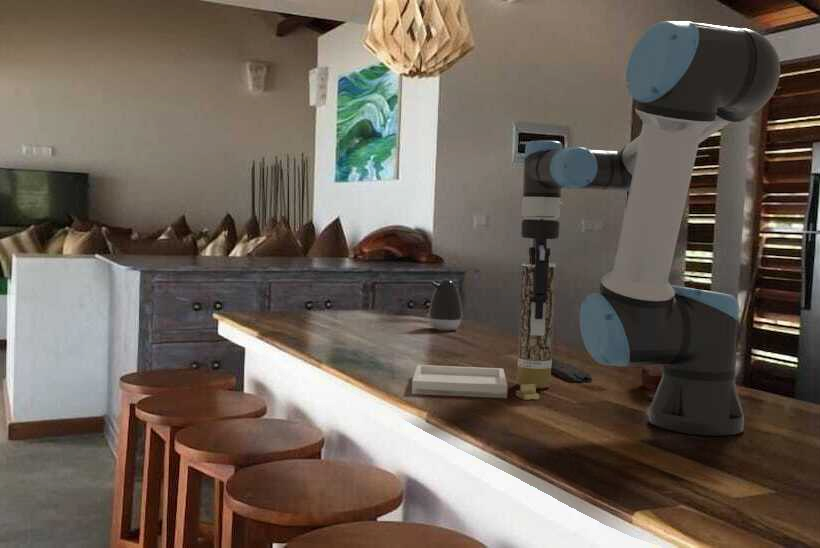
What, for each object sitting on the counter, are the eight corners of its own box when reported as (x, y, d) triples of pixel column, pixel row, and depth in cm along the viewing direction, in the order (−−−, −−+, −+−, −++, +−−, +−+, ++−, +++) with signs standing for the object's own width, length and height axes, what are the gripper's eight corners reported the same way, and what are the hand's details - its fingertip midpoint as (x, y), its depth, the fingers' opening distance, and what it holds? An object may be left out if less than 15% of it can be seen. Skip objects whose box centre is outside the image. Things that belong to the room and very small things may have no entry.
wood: (604, 385, 181) (605, 370, 180) (571, 385, 179) (572, 370, 179) (561, 366, 202) (562, 353, 202) (532, 366, 200) (532, 353, 200)
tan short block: (539, 400, 162) (539, 386, 162) (524, 401, 161) (525, 386, 161) (530, 396, 166) (530, 382, 166) (515, 396, 165) (516, 382, 165)
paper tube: (549, 390, 170) (555, 265, 169) (515, 388, 172) (520, 263, 170) (551, 384, 177) (556, 263, 175) (518, 382, 178) (523, 262, 177)
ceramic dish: (506, 398, 162) (507, 385, 162) (411, 393, 163) (412, 380, 163) (502, 380, 180) (503, 368, 179) (417, 376, 181) (417, 364, 181)
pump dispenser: (421, 327, 261) (423, 277, 260) (452, 326, 265) (453, 277, 264) (436, 332, 251) (438, 280, 250) (468, 331, 256) (469, 280, 255)
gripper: (565, 219, 162) (559, 340, 164) (554, 219, 182) (549, 327, 183) (525, 218, 162) (520, 338, 164) (518, 218, 182) (514, 325, 184)
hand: (535, 332), depth 174 cm, fingers closed on paper tube, 7 cm apart
